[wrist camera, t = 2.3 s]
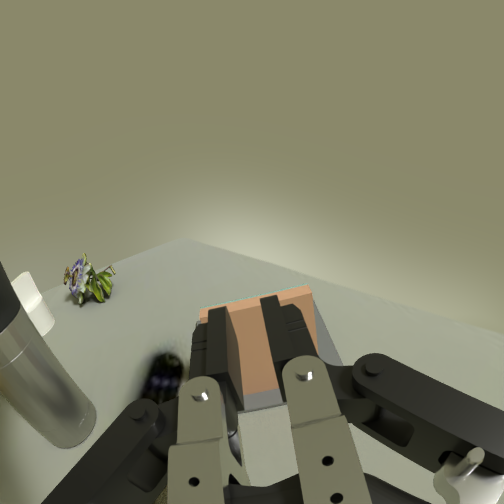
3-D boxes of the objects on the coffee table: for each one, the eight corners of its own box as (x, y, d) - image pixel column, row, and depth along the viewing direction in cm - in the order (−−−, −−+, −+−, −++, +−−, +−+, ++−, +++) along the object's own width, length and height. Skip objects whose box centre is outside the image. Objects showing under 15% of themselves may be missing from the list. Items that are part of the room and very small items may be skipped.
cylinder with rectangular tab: (40, 316, 56) (17, 273, 51) (61, 316, 54) (36, 269, 49) (19, 339, 48) (-8, 294, 43) (39, 342, 47) (10, 293, 41)
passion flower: (92, 321, 61) (58, 285, 59) (121, 290, 67) (88, 256, 66) (93, 312, 52) (54, 270, 50) (127, 276, 59) (89, 237, 57)
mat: (191, 419, 29) (190, 418, 29) (197, 323, 45) (197, 321, 45) (351, 386, 29) (351, 384, 29) (311, 297, 45) (311, 295, 45)
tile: (233, 397, 31) (199, 318, 25) (232, 386, 32) (200, 307, 27) (320, 377, 31) (311, 292, 25) (316, 367, 32) (307, 283, 27)
